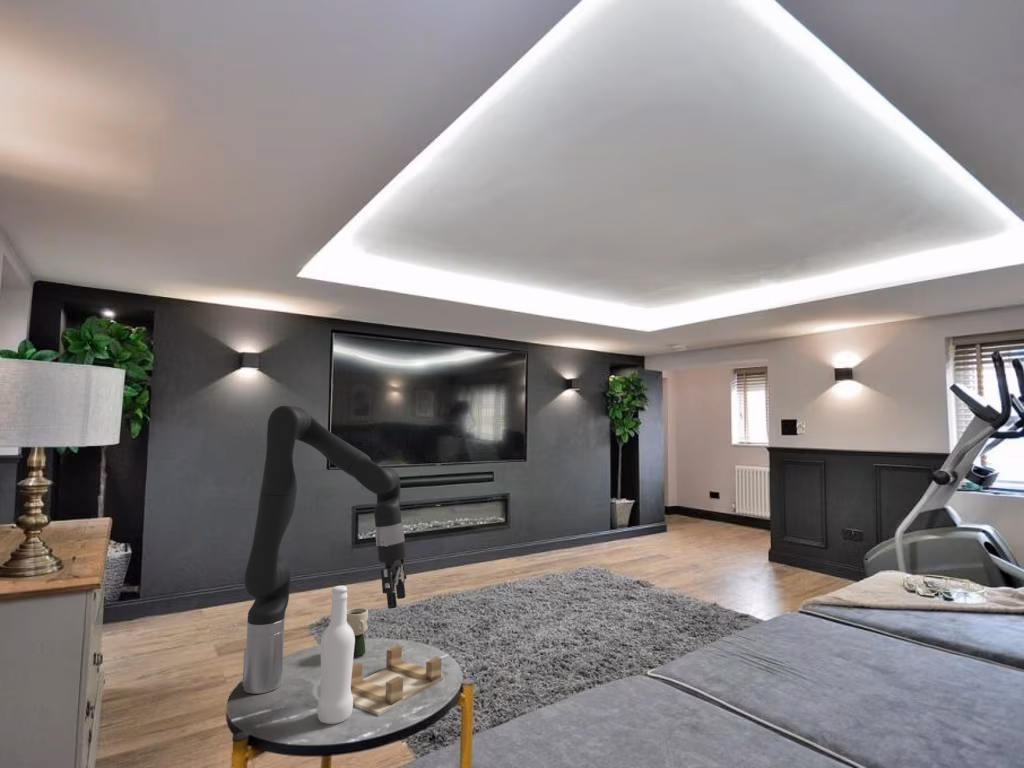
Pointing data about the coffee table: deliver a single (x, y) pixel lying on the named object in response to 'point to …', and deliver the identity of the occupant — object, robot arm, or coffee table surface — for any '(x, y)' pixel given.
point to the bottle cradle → (392, 682)
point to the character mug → (358, 627)
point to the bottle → (336, 663)
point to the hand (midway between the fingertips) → (397, 603)
